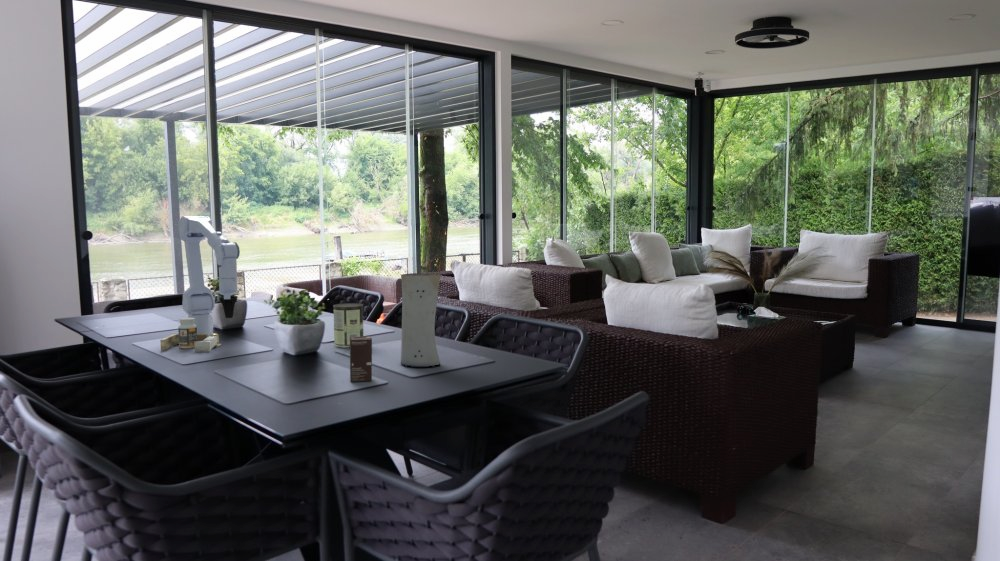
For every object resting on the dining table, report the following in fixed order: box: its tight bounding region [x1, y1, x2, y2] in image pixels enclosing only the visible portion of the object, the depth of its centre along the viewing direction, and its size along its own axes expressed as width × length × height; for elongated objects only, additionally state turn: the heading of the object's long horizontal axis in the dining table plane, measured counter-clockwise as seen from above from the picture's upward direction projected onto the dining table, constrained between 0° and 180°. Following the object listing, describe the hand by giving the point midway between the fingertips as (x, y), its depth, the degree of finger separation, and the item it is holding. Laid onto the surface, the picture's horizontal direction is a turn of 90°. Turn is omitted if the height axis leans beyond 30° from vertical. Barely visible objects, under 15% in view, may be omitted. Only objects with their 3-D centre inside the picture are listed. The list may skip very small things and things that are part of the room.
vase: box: [400, 272, 442, 368], centre depth 223 cm, size 13×14×28 cm
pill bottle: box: [177, 317, 197, 350], centre depth 247 cm, size 6×6×10 cm
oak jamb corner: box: [160, 333, 208, 351], centre depth 248 cm, size 11×12×4 cm
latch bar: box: [203, 333, 220, 349], centre depth 247 cm, size 10×3×3 cm, turn 6°
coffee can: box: [332, 302, 364, 349], centre depth 253 cm, size 10×10×14 cm
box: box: [349, 336, 373, 383], centre depth 202 cm, size 6×4×12 cm
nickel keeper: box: [194, 341, 212, 353], centre depth 242 cm, size 4×5×3 cm
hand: (229, 317), depth 248 cm, fingers closed
